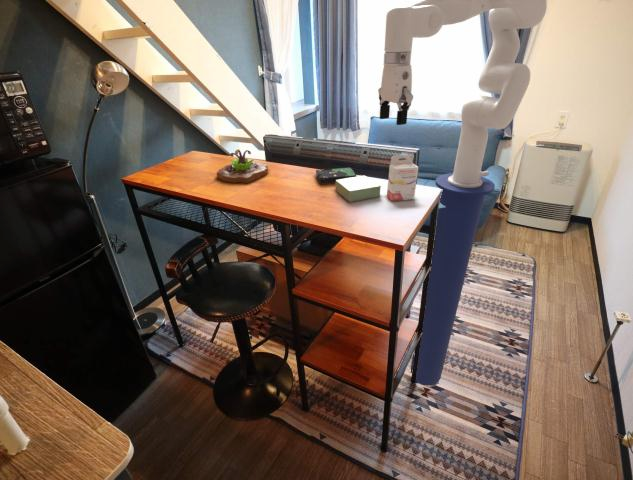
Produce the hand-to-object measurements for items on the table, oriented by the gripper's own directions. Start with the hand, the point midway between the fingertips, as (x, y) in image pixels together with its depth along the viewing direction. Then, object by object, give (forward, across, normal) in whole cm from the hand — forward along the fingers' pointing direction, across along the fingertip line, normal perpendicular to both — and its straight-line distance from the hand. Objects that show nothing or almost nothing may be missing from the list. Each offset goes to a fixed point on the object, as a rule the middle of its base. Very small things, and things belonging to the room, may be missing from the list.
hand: (392, 121), depth 106 cm
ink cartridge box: (+27, 0, -6) cm, 27 cm away
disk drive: (+27, +27, +8) cm, 39 cm away
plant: (+26, +48, +42) cm, 69 cm away
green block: (+26, +10, +7) cm, 29 cm away
